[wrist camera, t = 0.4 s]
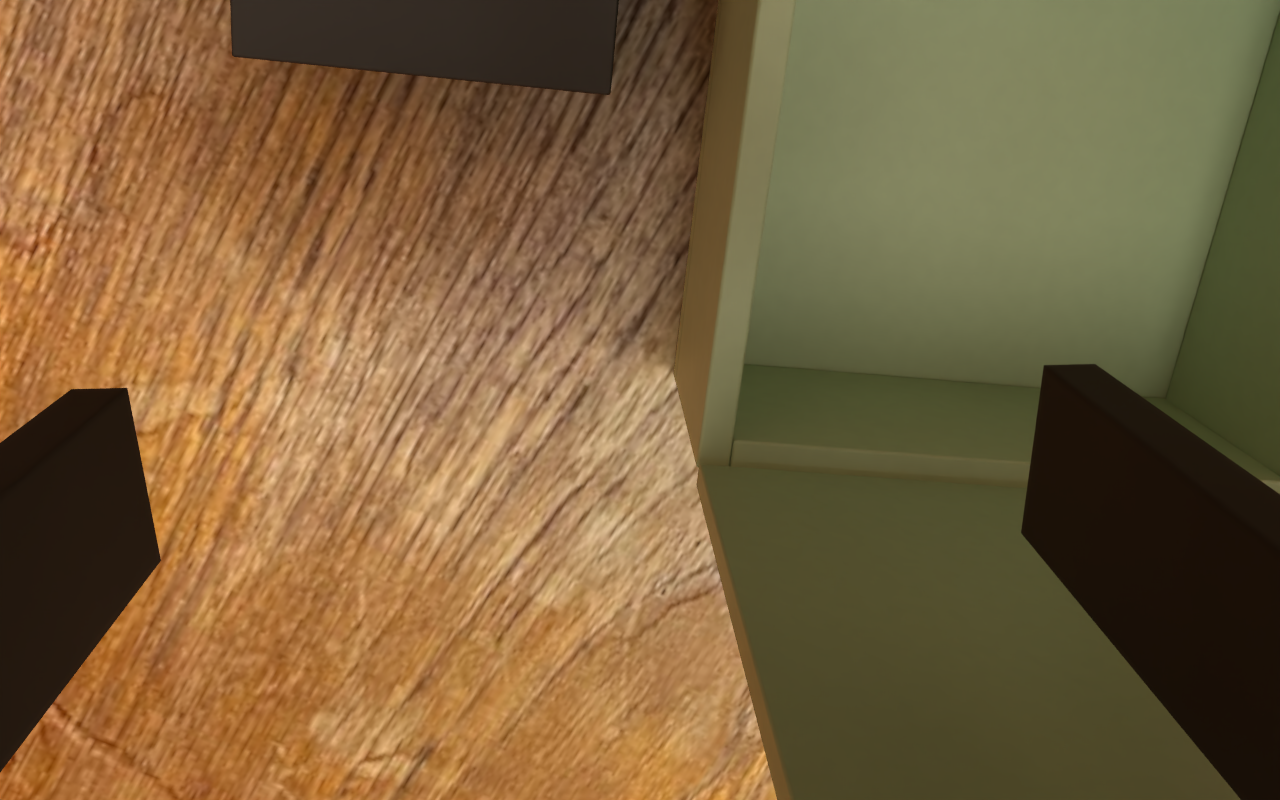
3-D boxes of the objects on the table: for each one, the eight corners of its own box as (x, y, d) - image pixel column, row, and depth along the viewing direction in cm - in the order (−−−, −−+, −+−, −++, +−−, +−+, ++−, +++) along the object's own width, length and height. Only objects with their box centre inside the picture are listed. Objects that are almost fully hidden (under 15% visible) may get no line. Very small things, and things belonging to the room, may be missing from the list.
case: (733, -129, 27) (780, -172, 20) (1310, -59, 28) (1525, -78, 22) (673, 374, 31) (695, 468, 25) (1169, 414, 33) (1311, 513, 26)
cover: (845, 996, 11) (836, 1039, 11) (2149, 1037, 12) (2121, 1074, 12) (699, 463, 24) (695, 486, 25) (1324, 508, 26) (1316, 530, 26)
